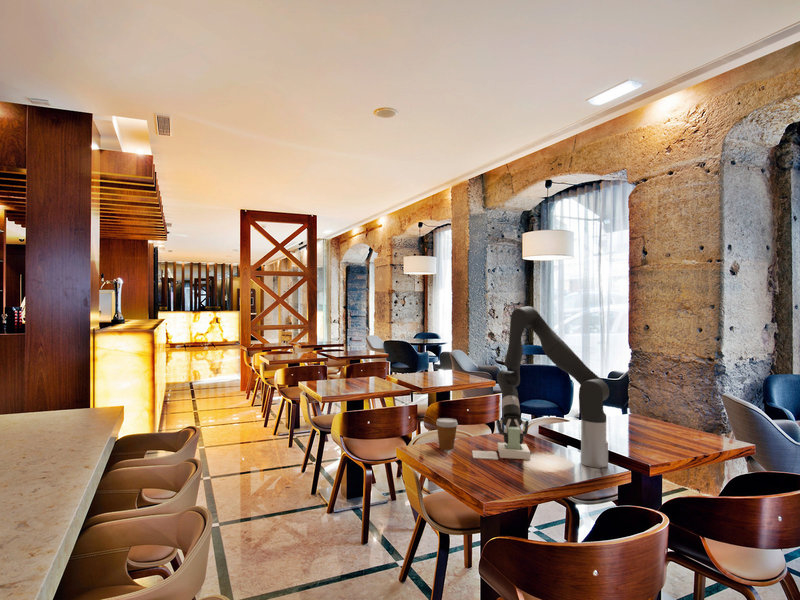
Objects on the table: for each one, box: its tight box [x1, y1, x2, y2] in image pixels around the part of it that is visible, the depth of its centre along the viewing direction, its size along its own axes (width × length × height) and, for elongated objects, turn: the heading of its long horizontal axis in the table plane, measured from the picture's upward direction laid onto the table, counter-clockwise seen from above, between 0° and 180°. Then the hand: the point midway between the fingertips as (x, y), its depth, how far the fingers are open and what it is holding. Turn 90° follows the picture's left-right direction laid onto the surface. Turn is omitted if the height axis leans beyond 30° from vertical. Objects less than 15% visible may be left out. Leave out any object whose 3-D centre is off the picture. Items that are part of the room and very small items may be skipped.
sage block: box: [507, 426, 520, 450], centre depth 195 cm, size 5×5×11 cm
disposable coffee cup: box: [435, 417, 459, 451], centre depth 202 cm, size 10×10×12 cm
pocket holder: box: [497, 442, 531, 460], centre depth 195 cm, size 12×12×3 cm
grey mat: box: [471, 450, 499, 461], centre depth 192 cm, size 10×10×1 cm
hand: (513, 442), depth 193 cm, fingers open, 5 cm apart
